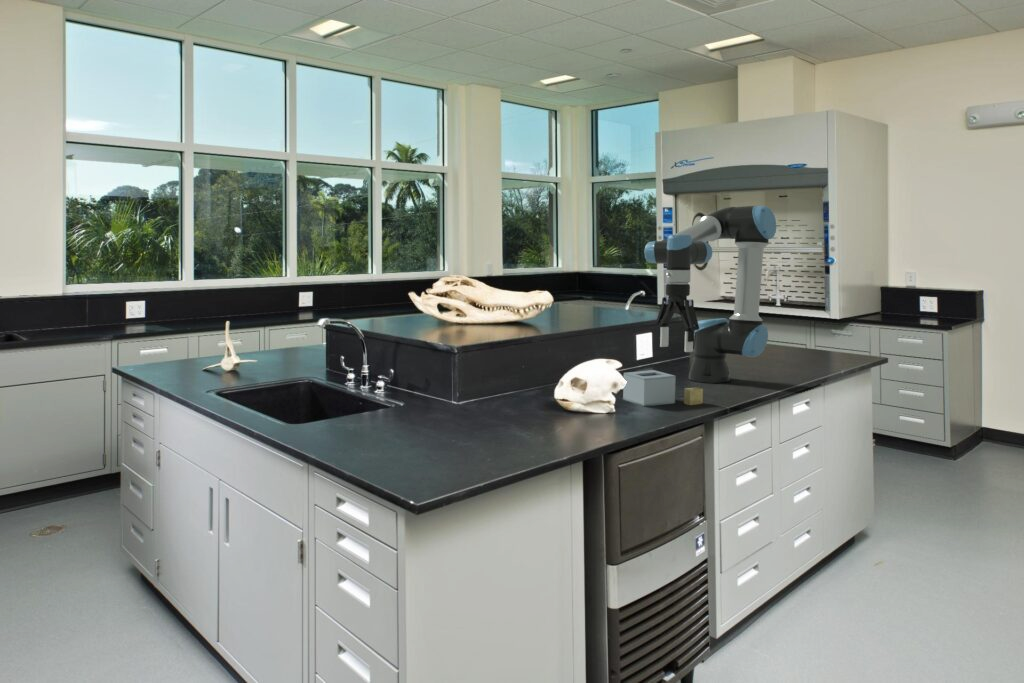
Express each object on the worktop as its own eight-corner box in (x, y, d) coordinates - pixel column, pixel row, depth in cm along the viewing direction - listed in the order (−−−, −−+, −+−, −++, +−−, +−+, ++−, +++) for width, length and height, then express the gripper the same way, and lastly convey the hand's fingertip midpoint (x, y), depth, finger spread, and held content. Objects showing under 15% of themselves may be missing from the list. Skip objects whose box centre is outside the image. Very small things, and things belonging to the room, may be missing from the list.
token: (696, 402, 246) (696, 387, 246) (702, 403, 244) (702, 388, 243) (684, 403, 244) (684, 388, 244) (689, 405, 241) (690, 390, 241)
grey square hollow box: (653, 396, 255) (653, 370, 254) (674, 403, 245) (675, 375, 243) (623, 399, 250) (623, 372, 249) (643, 406, 240) (644, 378, 238)
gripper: (646, 281, 251) (645, 345, 254) (691, 285, 228) (689, 354, 231) (665, 281, 254) (664, 344, 257) (712, 284, 231) (709, 353, 234)
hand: (676, 349), depth 244 cm, fingers open, 13 cm apart
